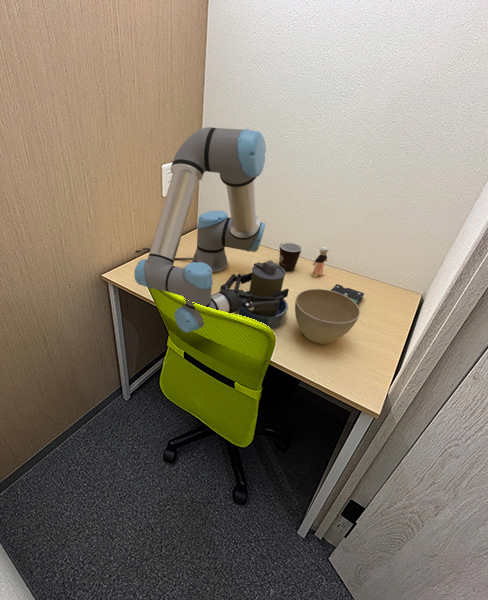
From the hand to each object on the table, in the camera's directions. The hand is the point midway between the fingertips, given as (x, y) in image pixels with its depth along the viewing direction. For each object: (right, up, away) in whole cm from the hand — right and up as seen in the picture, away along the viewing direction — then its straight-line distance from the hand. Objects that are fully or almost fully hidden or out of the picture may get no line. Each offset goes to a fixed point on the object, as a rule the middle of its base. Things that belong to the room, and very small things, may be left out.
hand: (271, 283), depth 111 cm
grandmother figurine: (+27, +5, +28) cm, 40 cm away
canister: (-2, -11, +5) cm, 12 cm away
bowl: (-2, -11, +6) cm, 12 cm away
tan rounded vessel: (+14, -17, -3) cm, 22 cm away
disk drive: (+29, -7, +12) cm, 32 cm away
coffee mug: (+16, +9, +34) cm, 39 cm away
